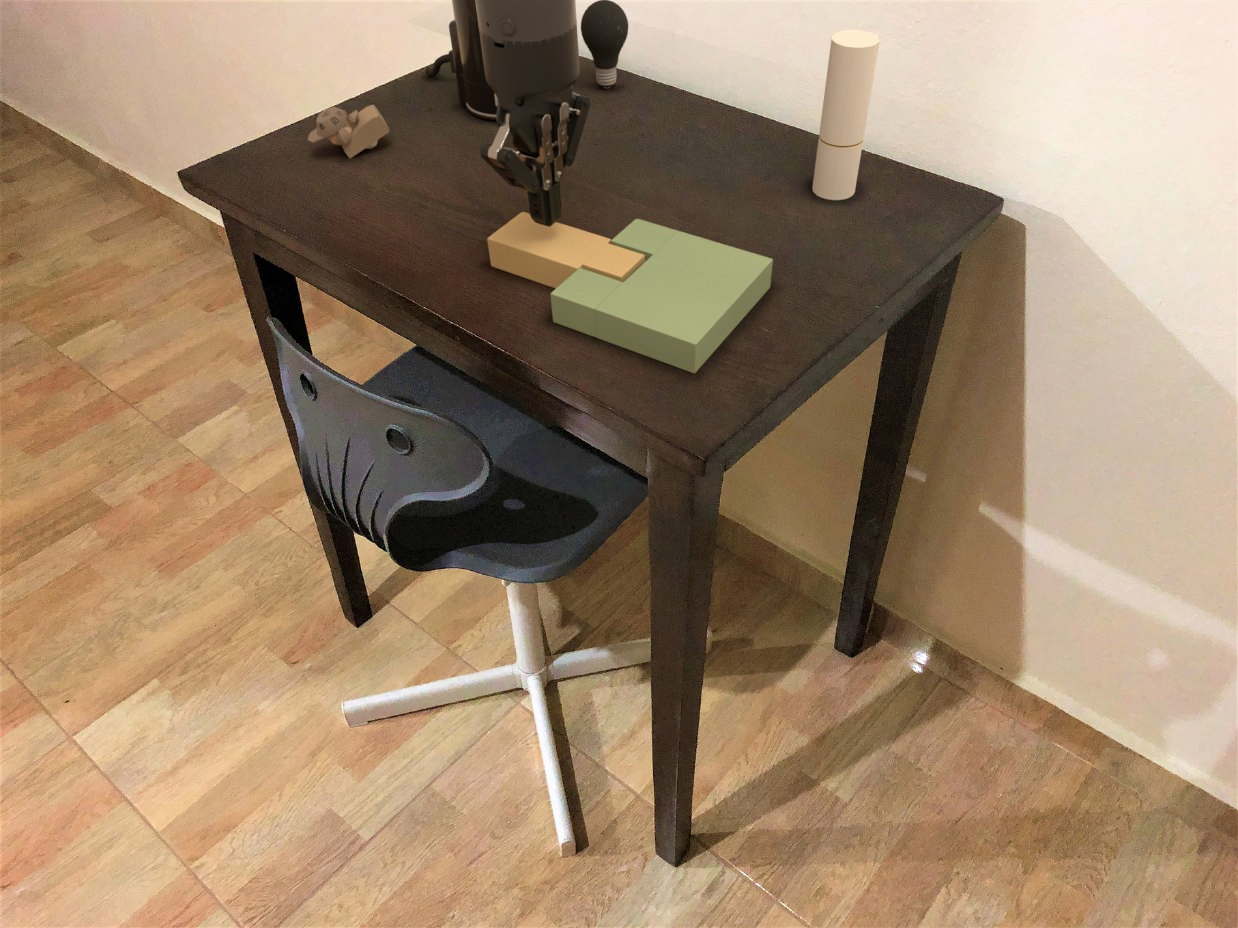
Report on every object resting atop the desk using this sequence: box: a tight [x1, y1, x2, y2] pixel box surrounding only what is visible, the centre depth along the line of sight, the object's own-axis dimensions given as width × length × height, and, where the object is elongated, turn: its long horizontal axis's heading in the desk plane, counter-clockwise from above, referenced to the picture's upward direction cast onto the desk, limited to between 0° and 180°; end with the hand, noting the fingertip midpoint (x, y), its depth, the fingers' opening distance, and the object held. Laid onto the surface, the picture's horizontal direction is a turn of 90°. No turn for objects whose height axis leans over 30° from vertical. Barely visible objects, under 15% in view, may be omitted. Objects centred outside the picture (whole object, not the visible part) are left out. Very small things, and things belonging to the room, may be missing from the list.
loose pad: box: [486, 211, 645, 289], centre depth 85 cm, size 14×6×3 cm, turn 58°
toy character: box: [307, 104, 390, 159], centre depth 103 cm, size 4×8×6 cm, turn 112°
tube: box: [812, 29, 881, 201], centre depth 90 cm, size 4×4×15 cm
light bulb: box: [580, 0, 629, 89], centre depth 111 cm, size 6×6×10 cm
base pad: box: [550, 218, 774, 374], centre depth 81 cm, size 14×14×3 cm
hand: (546, 221), depth 83 cm, fingers closed
